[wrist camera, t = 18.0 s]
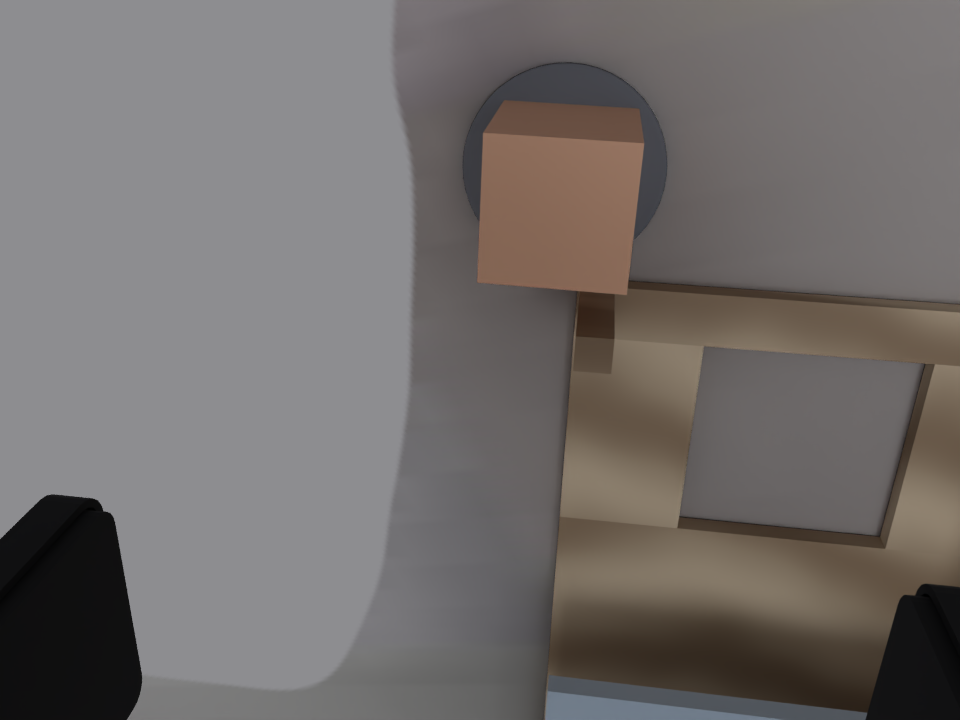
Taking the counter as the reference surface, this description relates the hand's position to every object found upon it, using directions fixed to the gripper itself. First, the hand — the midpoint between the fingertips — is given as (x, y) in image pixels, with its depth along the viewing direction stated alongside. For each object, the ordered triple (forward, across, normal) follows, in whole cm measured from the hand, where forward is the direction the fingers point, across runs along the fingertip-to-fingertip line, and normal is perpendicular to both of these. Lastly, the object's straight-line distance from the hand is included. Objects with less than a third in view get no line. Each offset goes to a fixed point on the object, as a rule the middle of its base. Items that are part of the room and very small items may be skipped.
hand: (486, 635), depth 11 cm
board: (+23, -9, +16) cm, 30 cm away
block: (+23, 0, 0) cm, 23 cm away
